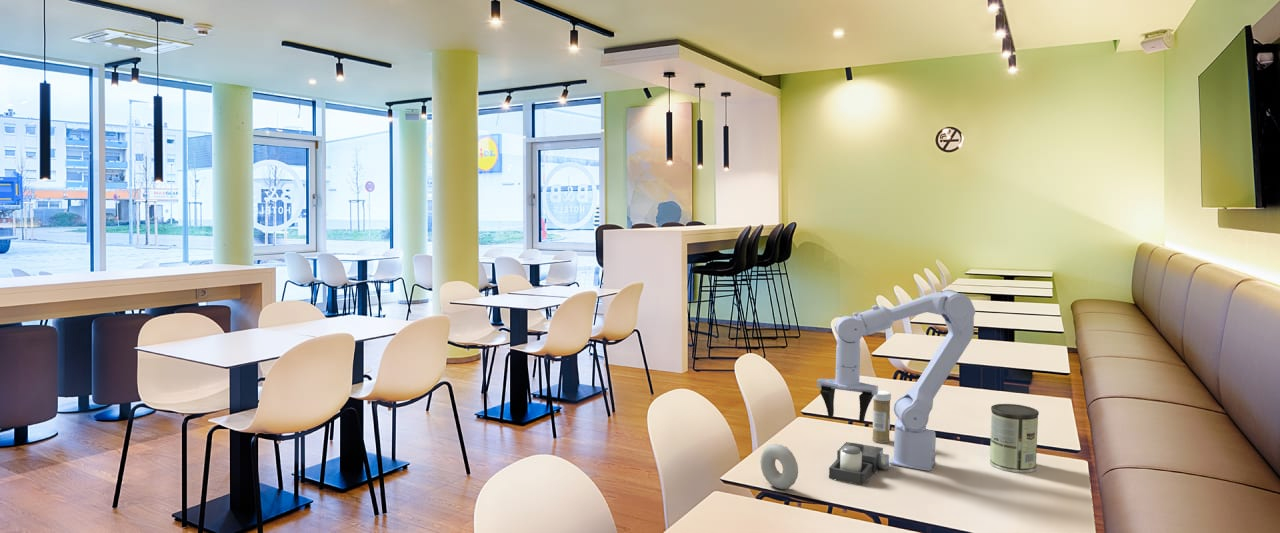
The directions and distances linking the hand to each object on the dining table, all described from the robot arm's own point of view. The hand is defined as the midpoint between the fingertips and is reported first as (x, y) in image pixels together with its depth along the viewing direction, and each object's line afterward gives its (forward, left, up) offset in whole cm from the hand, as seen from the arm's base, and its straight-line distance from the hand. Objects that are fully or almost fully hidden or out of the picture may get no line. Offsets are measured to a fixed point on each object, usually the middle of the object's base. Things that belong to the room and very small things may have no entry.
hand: (846, 419), depth 183 cm
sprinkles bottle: (-4, -20, -11) cm, 23 cm away
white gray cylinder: (-4, +11, -10) cm, 15 cm away
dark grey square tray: (-4, +10, -10) cm, 15 cm away
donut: (+8, +26, -11) cm, 29 cm away
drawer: (-4, +2, -10) cm, 11 cm away
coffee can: (-36, -17, -11) cm, 41 cm away
